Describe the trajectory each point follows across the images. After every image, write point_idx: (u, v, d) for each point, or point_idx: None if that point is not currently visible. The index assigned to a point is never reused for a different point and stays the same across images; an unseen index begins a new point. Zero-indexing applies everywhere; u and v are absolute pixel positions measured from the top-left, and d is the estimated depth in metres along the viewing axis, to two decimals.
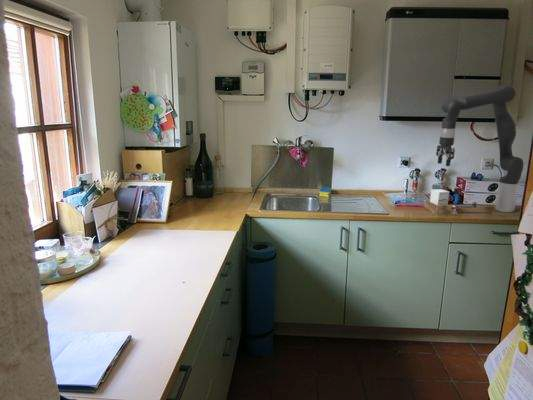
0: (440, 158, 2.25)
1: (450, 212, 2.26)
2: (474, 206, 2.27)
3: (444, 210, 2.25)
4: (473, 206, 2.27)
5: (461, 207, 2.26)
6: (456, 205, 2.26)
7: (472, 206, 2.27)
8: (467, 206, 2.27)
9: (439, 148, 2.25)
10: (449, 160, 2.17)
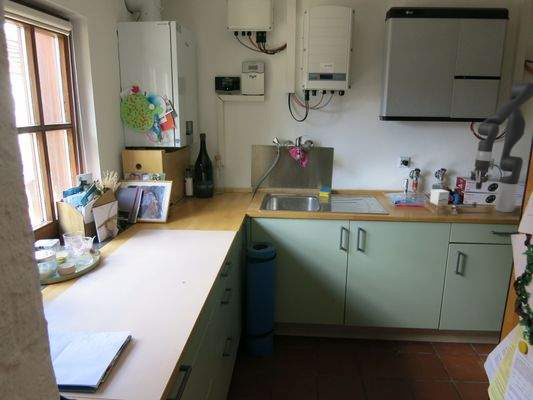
0: None
1: (450, 212, 2.26)
2: (474, 206, 2.27)
3: (444, 210, 2.25)
4: (473, 206, 2.27)
5: (461, 207, 2.26)
6: (456, 205, 2.26)
7: (472, 206, 2.27)
8: (467, 206, 2.27)
9: None
10: None
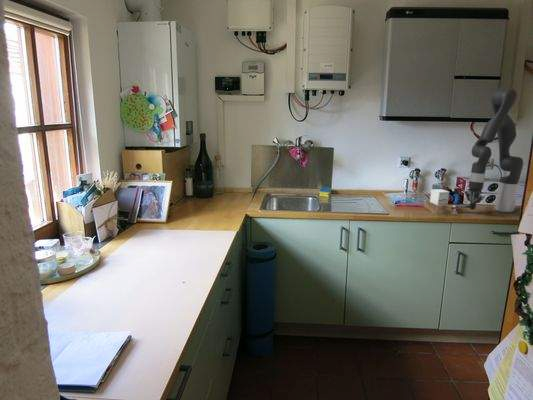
0: None
1: (450, 212, 2.26)
2: None
3: (444, 210, 2.25)
4: None
5: (461, 207, 2.26)
6: (456, 205, 2.26)
7: None
8: (467, 206, 2.27)
9: None
10: None
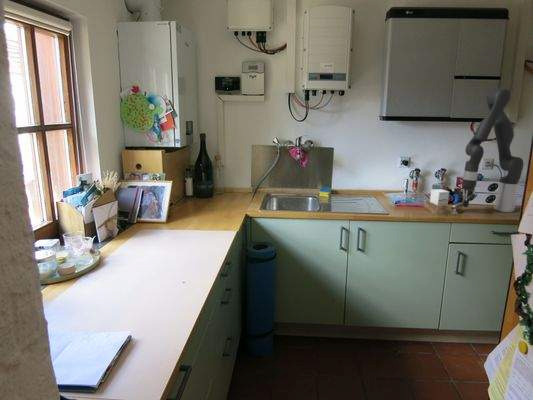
0: None
1: (450, 212, 2.26)
2: None
3: (444, 210, 2.25)
4: None
5: (458, 206, 2.28)
6: (455, 205, 2.27)
7: None
8: (461, 204, 2.31)
9: None
10: None
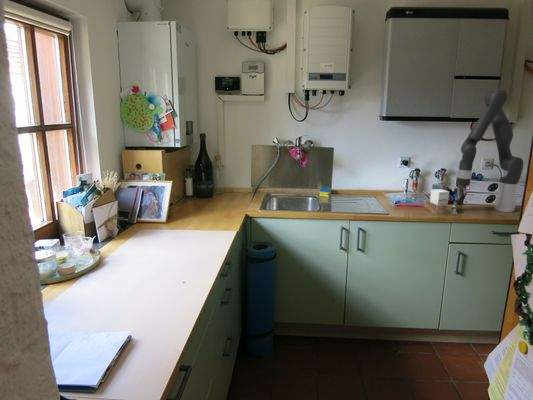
0: None
1: (450, 212, 2.26)
2: None
3: (444, 210, 2.25)
4: None
5: None
6: (455, 205, 2.27)
7: None
8: (456, 203, 2.33)
9: None
10: None
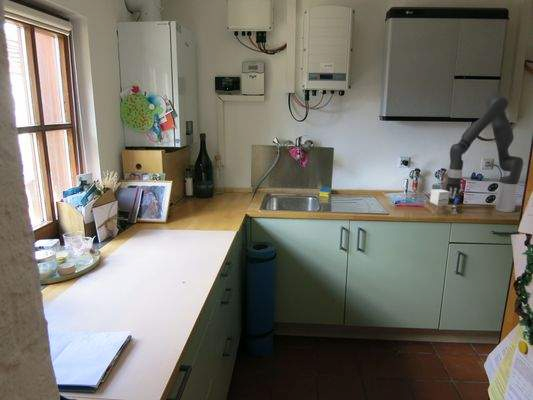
0: None
1: (450, 212, 2.26)
2: None
3: (444, 210, 2.25)
4: None
5: None
6: None
7: None
8: None
9: (445, 189, 2.35)
10: (453, 199, 2.35)
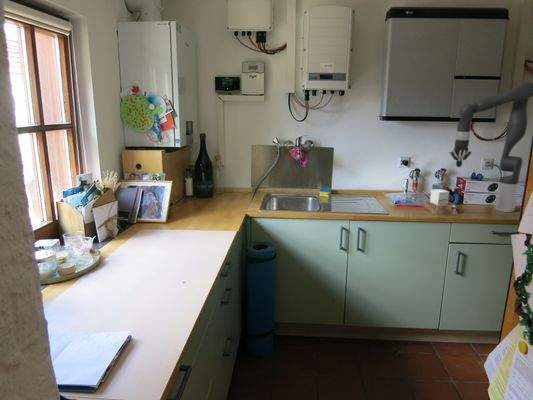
0: None
1: (450, 212, 2.26)
2: None
3: (444, 210, 2.25)
4: None
5: None
6: None
7: None
8: None
9: None
10: None
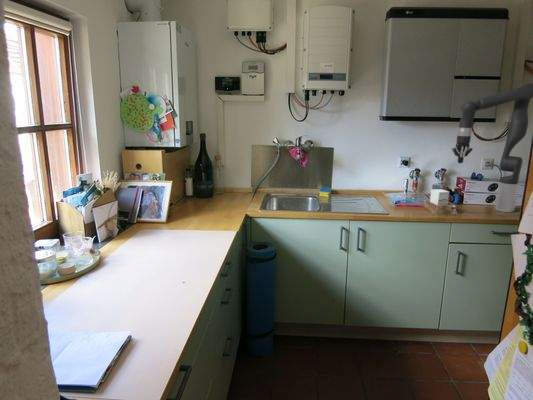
0: None
1: (450, 212, 2.26)
2: None
3: (444, 210, 2.25)
4: None
5: None
6: None
7: None
8: None
9: (456, 149, 2.36)
10: None
